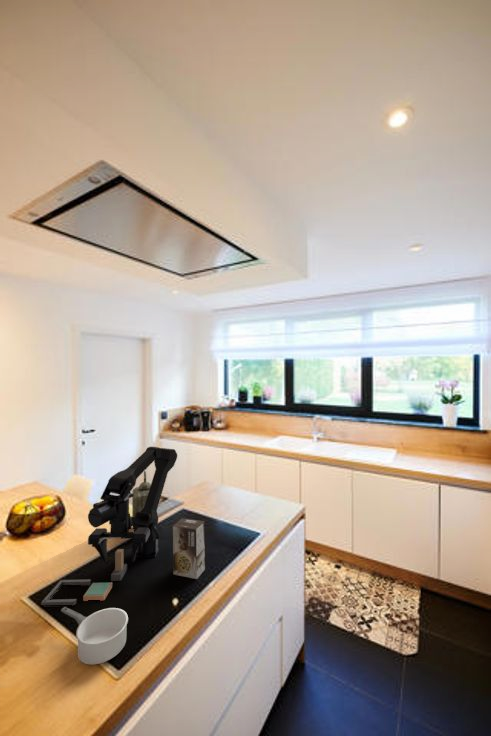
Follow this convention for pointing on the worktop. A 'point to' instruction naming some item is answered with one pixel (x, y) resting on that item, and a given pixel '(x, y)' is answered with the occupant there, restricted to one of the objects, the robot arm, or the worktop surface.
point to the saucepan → (100, 634)
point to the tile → (97, 591)
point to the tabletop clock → (140, 496)
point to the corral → (64, 601)
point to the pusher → (119, 566)
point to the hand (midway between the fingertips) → (119, 561)
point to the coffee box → (188, 548)
